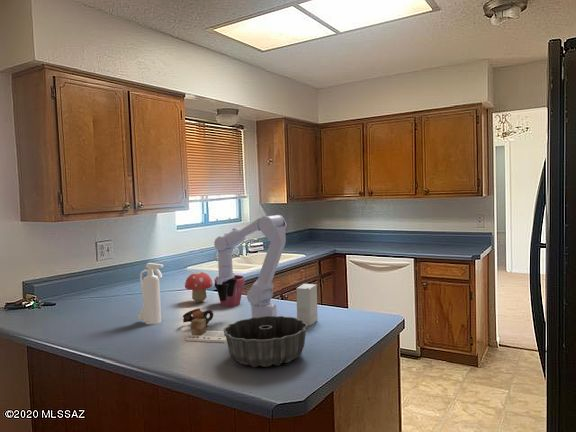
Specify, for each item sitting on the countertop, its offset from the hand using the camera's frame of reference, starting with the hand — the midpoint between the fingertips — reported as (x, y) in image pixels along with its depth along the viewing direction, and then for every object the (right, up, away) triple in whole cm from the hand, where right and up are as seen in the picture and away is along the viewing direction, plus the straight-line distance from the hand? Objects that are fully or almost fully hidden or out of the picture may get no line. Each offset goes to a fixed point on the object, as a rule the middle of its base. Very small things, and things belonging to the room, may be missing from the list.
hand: (226, 298), depth 184 cm
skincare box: (+33, -9, -6) cm, 35 cm away
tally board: (-3, -11, -20) cm, 23 cm away
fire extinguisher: (-32, -11, +3) cm, 34 cm away
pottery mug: (-10, -10, -5) cm, 16 cm away
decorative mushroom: (-18, -9, +36) cm, 41 cm away
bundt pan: (+18, -11, -43) cm, 48 cm away
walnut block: (-8, -10, -18) cm, 22 cm away
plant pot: (-2, -8, +30) cm, 31 cm away
